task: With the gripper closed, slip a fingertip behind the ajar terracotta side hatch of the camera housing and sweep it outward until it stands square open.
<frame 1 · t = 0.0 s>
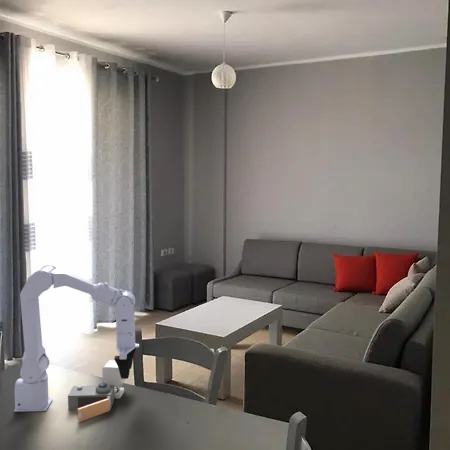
hand: (126, 373, 163), 10 cm above the table, fingers open, 7 cm apart
security camera: (114, 394, 172), on the table
hatch: (95, 408, 156), point 2 cm above the table, hinge at 40.0°
housing: (91, 404, 164), on the table
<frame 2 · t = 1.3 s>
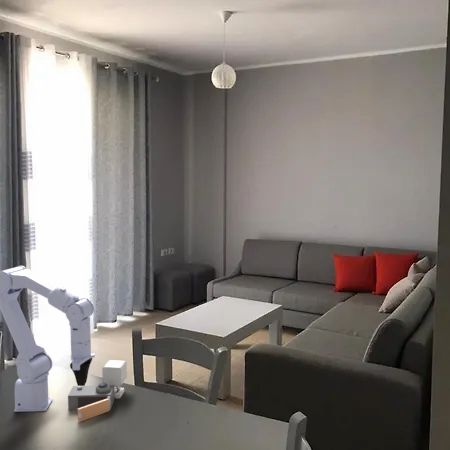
hand: (81, 384, 156), 9 cm above the table, fingers closed
nothing on the table moved.
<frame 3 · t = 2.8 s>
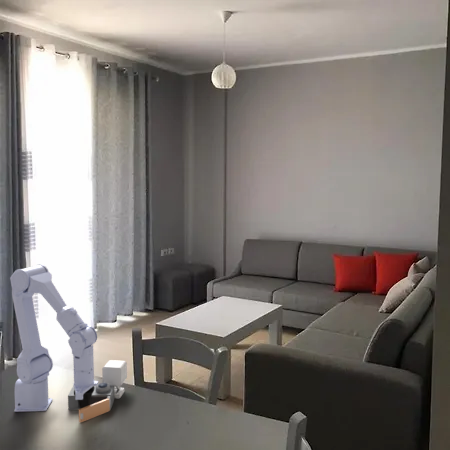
hand: (84, 412, 155), 2 cm above the table, fingers closed, pressing on hatch
hatch: (95, 409, 156), point 2 cm above the table, hinge at 43.5°, touching gripper
everything else where it was.
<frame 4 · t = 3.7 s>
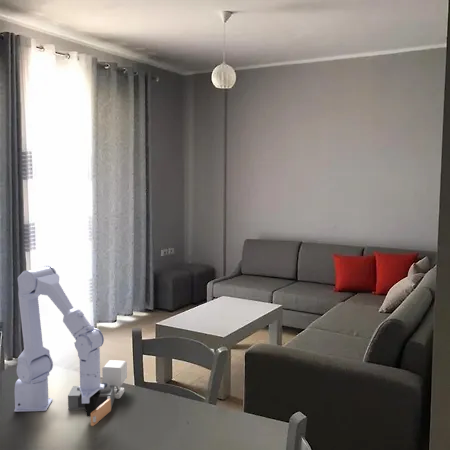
hand: (90, 415, 153), 2 cm above the table, fingers closed, pressing on hatch
hatch: (101, 410, 155), point 2 cm above the table, hinge at 69.0°, touching gripper
everything else where it was.
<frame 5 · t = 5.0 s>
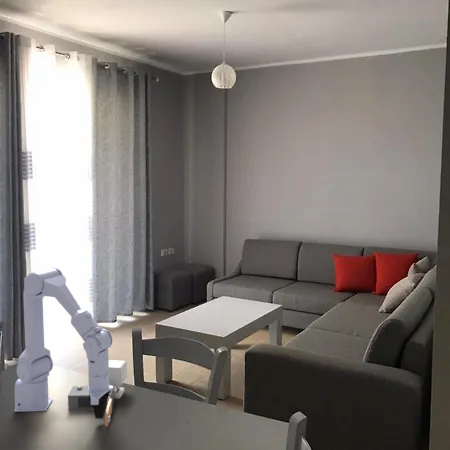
hand: (99, 417, 152), 2 cm above the table, fingers closed
hatch: (108, 410, 155), point 2 cm above the table, hinge at 92.0°
everything else where it was.
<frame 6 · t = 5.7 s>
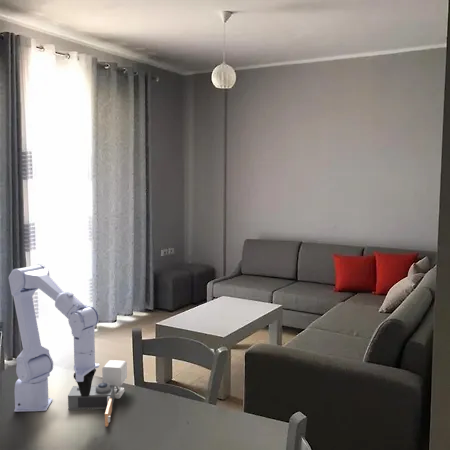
hand: (85, 395, 150), 9 cm above the table, fingers closed
nothing on the table moved.
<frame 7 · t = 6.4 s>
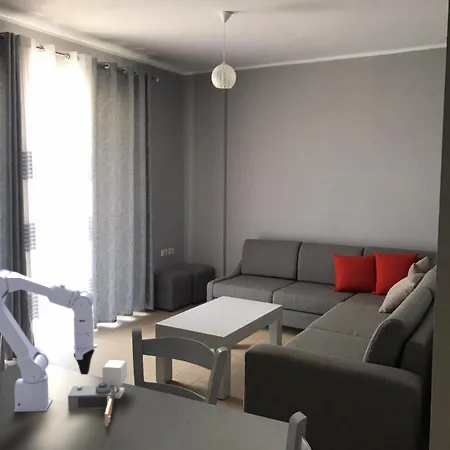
hand: (84, 373, 163), 10 cm above the table, fingers closed
nothing on the table moved.
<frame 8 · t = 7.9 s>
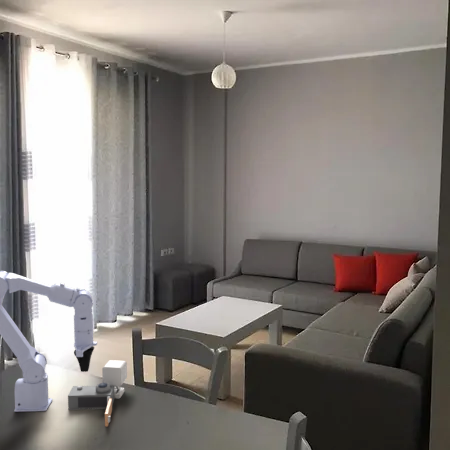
hand: (84, 370, 165), 10 cm above the table, fingers closed
nothing on the table moved.
at the end: hatch at +92° (first picture: +40°) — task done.
